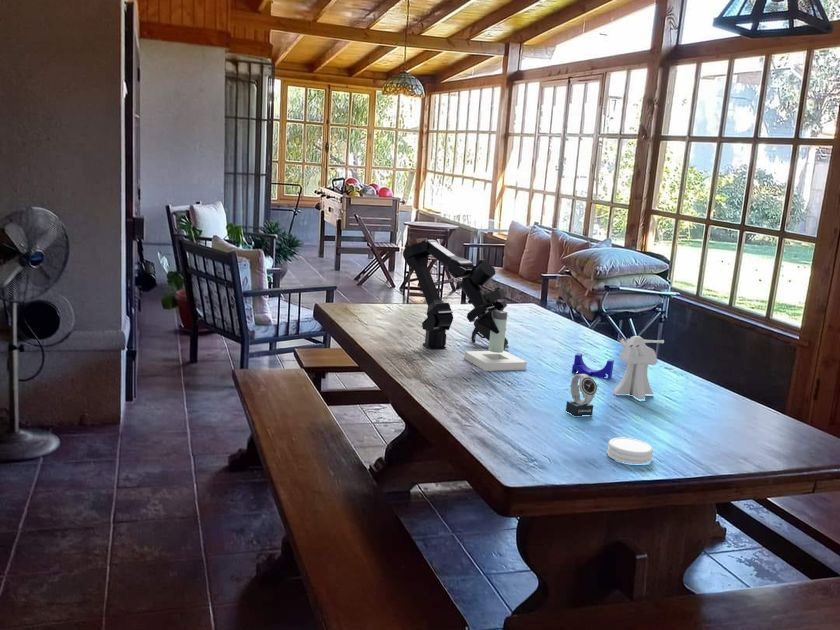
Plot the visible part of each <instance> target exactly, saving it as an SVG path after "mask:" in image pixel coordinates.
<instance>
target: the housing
mask: <svg viewBox="0 0 840 630" xmlns="http://www.w3.org/2000/svg"><path fill="white" fill-rule="evenodd" d="M463 359H464V360H465V361H467V362H469V363H471V364H472V363H473V365H474V366H476V367H478V368H479V369H481V370H483V371H485V372H488V371H489V372H490V371H491V372H492V371H494V372H495V371H516V370H517V371H521V370H522V371H523V370H524V371H525V370H526V371H527V364H528V362H527V361H526V360H524V359H522V358H519V357H517V356H516V355H514V354H512V353H509V352H508V351H506V350H503V352H502V353H496V352H491V351H489V350H475V351H474V350H473V351H472V350H471V351H468V350H467V351H464V357H463Z"/></svg>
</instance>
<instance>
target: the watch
mask: <svg viewBox="0 0 840 630" xmlns="http://www.w3.org/2000/svg"><path fill="white" fill-rule="evenodd" d="M569 386H570V387H569V388H570V395H571V398H572V400H567V401H566V406H565V412H566V411H567V412H569V413H571V414H572V415H574V416H582V415H592V416H593V412H594V405H593V404H592V403H591V402H592V401H593V399H594V398H595V395H596V392H597V391H598V385H597V382H596V381H595V380H594V379H593V378H592V377H591V376H588V375H587V374H574V375H573V377H572V378H571V382H570V385H569ZM580 392H581V395H582V397H583V400H582V399H581V395H580Z"/></svg>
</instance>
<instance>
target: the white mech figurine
mask: <svg viewBox="0 0 840 630" xmlns="http://www.w3.org/2000/svg"><path fill="white" fill-rule="evenodd" d="M618 341H619V342H620V344H621V345H622V346H623V348H622V350H621V352H620V354H619V358H620V359H621V360H623V361H624V362H626V366H625V367H626V368H625V372H624V374H623V376H622V377H621V380H620V381H619V383H618V384H617V386H616V387H615V388H614V389H613V390H612V394H613V393H614V394H630V395H633V396H635V397H636V398H638V399H644V398H646V399H647V397H645V394H655V393H654V392H653V390H652V388H651V385H650V382H649V377H648V368H649V366H656V364H658V362H659V361H658V359H657V358H658V357H657V353H656V351H655V350H654V349H653V348H651V347H649V346H647V344H648V343H649V344H651V343H653V344H655V343H656V344H664V343H665V340H664V339H657V340H655V339H654V340H653V339H644V338H643V337H641V336H639V335H633V336H630V338H629V337H627V338H625V339H624V337H620V338H619V340H618ZM614 394H613V395H614Z"/></svg>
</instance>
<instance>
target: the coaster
mask: <svg viewBox="0 0 840 630" xmlns="http://www.w3.org/2000/svg"><path fill="white" fill-rule="evenodd" d="M653 452H654V448H653V447H652V446H651V445H650V444H649V443H648V442H645V441H643V440H640V439H635V438H630V437H622V436H621V437H613V438H611V439H610V440H609V441H608V446H607V452H606V455H607V454H608V455H607V457H608V456H609V457H611V458H613V459H615V460H617V461H620V462H624V463H632V464H642V463H647V462H649V461H651V459H652V458H653ZM609 457H608V458H609ZM651 462H652V461H651Z"/></svg>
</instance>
